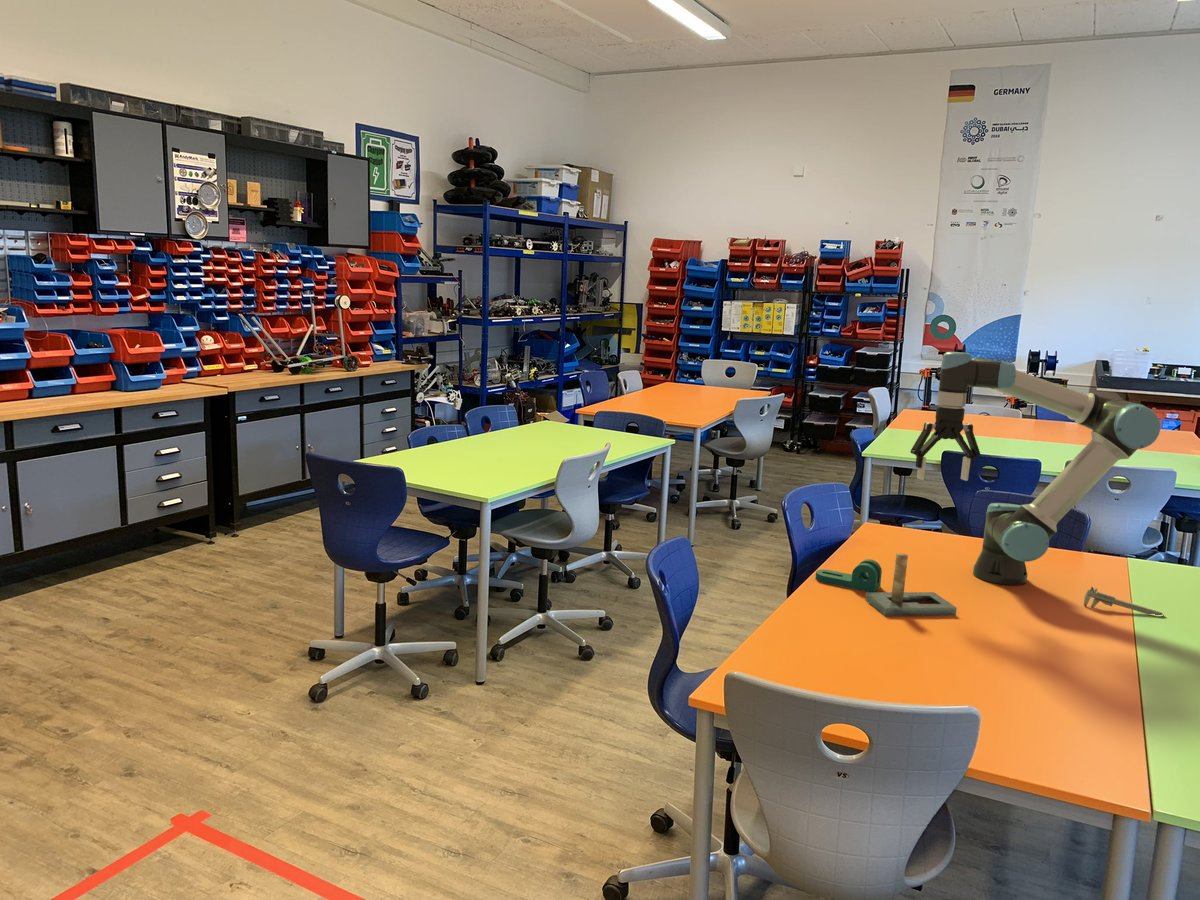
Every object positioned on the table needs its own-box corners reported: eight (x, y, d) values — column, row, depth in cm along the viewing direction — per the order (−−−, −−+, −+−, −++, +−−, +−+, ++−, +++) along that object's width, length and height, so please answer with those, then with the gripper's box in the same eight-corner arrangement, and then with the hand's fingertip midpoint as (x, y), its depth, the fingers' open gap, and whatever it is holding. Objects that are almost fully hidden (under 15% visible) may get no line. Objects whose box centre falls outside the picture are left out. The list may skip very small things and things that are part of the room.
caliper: (1083, 607, 245) (1087, 586, 244) (1083, 606, 246) (1086, 585, 245) (1166, 618, 240) (1170, 597, 239) (1165, 617, 241) (1169, 595, 240)
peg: (900, 604, 240) (906, 552, 238) (908, 610, 236) (914, 557, 233) (883, 604, 240) (889, 551, 237) (891, 611, 235) (897, 557, 232)
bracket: (880, 587, 254) (882, 561, 253) (874, 594, 249) (877, 567, 247) (819, 575, 263) (821, 550, 262) (812, 581, 258) (814, 555, 256)
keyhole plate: (933, 599, 246) (933, 592, 245) (955, 615, 234) (956, 607, 234) (865, 600, 243) (866, 592, 242) (885, 616, 231) (885, 608, 231)
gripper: (984, 405, 255) (975, 477, 259) (903, 403, 251) (895, 475, 255) (999, 409, 248) (989, 482, 251) (916, 407, 244) (907, 481, 248)
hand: (942, 479), depth 253 cm, fingers open, 13 cm apart
